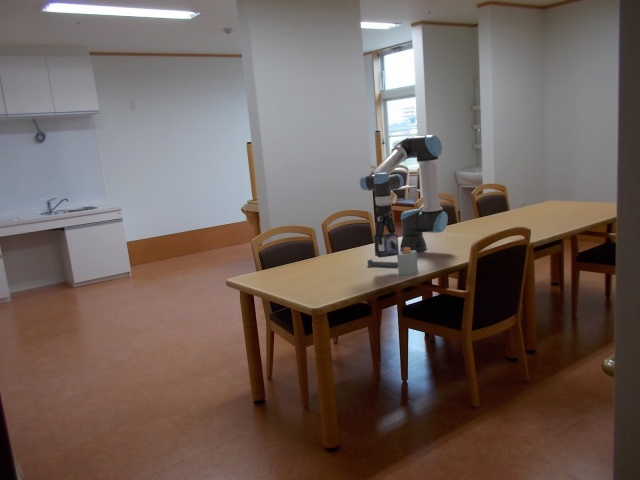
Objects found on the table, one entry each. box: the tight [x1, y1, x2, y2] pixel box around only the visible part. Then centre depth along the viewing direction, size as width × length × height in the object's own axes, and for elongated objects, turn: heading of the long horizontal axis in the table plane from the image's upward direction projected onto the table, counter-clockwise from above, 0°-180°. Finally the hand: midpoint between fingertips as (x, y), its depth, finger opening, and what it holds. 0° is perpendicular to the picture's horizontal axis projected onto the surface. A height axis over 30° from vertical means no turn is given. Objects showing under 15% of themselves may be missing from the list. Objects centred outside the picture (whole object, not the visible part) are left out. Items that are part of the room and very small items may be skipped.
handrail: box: [367, 258, 398, 268], centre depth 283 cm, size 2×23×3 cm, turn 59°
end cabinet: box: [396, 250, 419, 276], centre depth 266 cm, size 10×6×10 cm, turn 149°
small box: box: [373, 232, 400, 259], centre depth 270 cm, size 11×6×10 cm, turn 105°
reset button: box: [402, 247, 411, 254], centre depth 265 cm, size 4×4×5 cm
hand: (386, 248), depth 270 cm, fingers closed on small box, 11 cm apart
